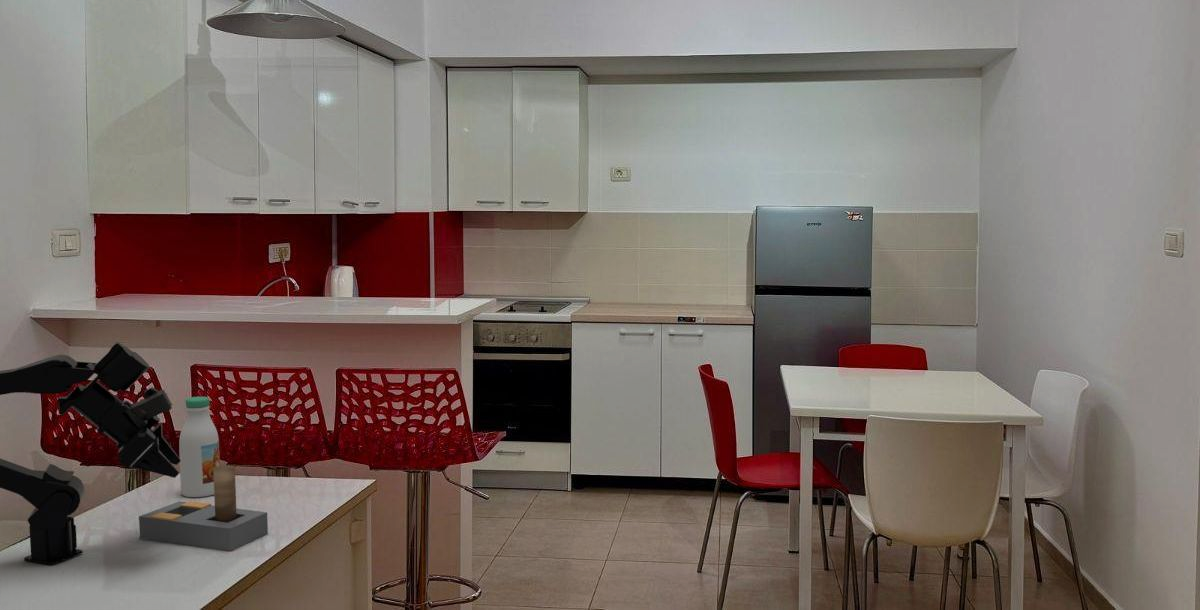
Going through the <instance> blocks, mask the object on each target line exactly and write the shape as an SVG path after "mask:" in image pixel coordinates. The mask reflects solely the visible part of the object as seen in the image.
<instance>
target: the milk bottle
mask: <svg viewBox="0 0 1200 610" xmlns="http://www.w3.org/2000/svg"><path fill="white" fill-rule="evenodd" d="M210 403H211V402H210V398H209V397H208V396H192V397H187V398H186V399H185V407H186V408H185V410H186V412H187V414H186V418H185V421H184V424H183V426H182V429H181V431H180V433H179V434H180V435H179V440H178V441H179V445H178V446H179V449H178V451H179V453H178V454H179V458H180V460H181V461H180V462H179V478H180V493H181V495H182V496H184V497H187V498H203V497H204V498H205V497H209V496H213V495H214V471H213V469H214V468H215V467H219V466H221V461H220V457H221V456H220V442H219V441H220V439H219V434H218V430H217V427H216V426H215V424H214V422H213V420H212V418H211V415H210V411H209V410H210V408H211V407H210Z"/></svg>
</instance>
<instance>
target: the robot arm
mask: <svg viewBox="0 0 1200 610" xmlns="http://www.w3.org/2000/svg"><path fill="white" fill-rule="evenodd" d="M150 367H151V366H150V365H149V363H148V362H147V361H146V360H145V359H144V358H143V357H142V356H140V354H138V353H137V352H136V351H133V350H131V349H130V348H128V347H126V346H124V345H123V344H122V343H120V342H119V341H116V342H115V344H114V345H112V346H111V348H110V349H109V351H108V352H107V353H106V354H105V355H104V356H103V357H102V358H101V359H99V361H98V362H90V361H89V362H87V361H78V360H75V359H74V358H73V357H71V356H69V355H66V354H57V355H54V356H49V357H47V358H43V359H40V360H37V361H34V362H31V363H29V364H26V365H23V366H19V367H15V368H10V369H3V370H0V396H2V395H8V394H17V393H25V394H37V395H40V394H43V395H44V394H46V395H47V394H48V395H50V394H51V395H52V394H55V395H56V394H57V395H58V394H62V393H65V392H67V391H69V390H70V389H72V388H73V386H74V385H76V386H75V388H74V389H73V390H72V391H71V392H70V393H69V394H67V396H59V397H58V398H57V402H58V415H60V416H63V415H64V414H65V413H67V411H68V410H70V409H71V408H72V409H74V410H75V412H77V413H78V414H79V415H81V416H82V417H84V418H85V419H86V420H87V421H89V422H90V423H91V424H92V425H94V426H95V427H96V428H97V429H96V432H98V433H99V434H101V435H102V434H103V433H104V434H105V435H106V436H108V437H109V438H110V439H111V440H113V442H114V443H116V447H117V448H118V449H119V450H118V452H117V460H118V462H120V464H122V465H123V466H124V467H125V468H129V467H130V468H131V469H137V470H142V471H146V472H151V473H153V474H154V473H155V474H159V475H162V476H167V477H170V478H176V477H177V476H178V475H180V471H178V470H177V468H176V467H175V466H177V465H179V464H180V461H181V460H180V456H178V455H177V453H176V451H175V450H174V449H173V448H172V446H171V445H170V444H169V443H168V441H167V440H166V439H165V437H164V435H163V423H162V422H160V421H161V418H159V417H158V415H160V414H164V413H165V414H166V413H167V412H169V411H170V410H172V408H173V403H172V402H171V400H170V398H169V396H168V394H167V393H166V391H165V390H164V389H159V390H158V389H156V388H155V387H150V388H148V389H145V390H144V393H143V394H144V395H143V396H144V397H143V398H142V399H140V400H139V401H136V402H134V403H131V402H130V401H129V400H124V399H123V401H122V400H121V399H119V397H117V396H116V395H115V394H113V393H112V392H114V393H117V392H119V391H123V392H126V391H128V390H129V388H131V387H132V386H133V384H135V383H136V381H138V380H139V379H140V378H141V377H142V376H143V375H144V374H145V373H146V372H147V371H148V370H149V369H150ZM94 374H95V375H96V376H95V377H94V378H93V379H92V380H91V381H90V382H89V383H88V384H86V386H84V385H83V384H80V383H84V382H87V381H88V380H89V379H90V378H92V376H93V375H94ZM99 381H100V382H101V383H100V382H99ZM77 384H78V385H77ZM102 384H103V385H102ZM107 388H108V389H107ZM111 391H112V392H111ZM155 425H156V426H155ZM174 465H175V466H174ZM74 474H75V471H74V470H66V469H63V468H61V467H58V466H57V465H55V464H53V463H50V464H49V465H48V466H47V468H46V469H45V470H37V469H30V468H27V467H25V466H22V465H20V464H17V463H14V462H11V461H8V460H6V459H3V458H1V457H0V489H3V490H6V491H9V492H11V493H14V494H16V495H19V496H20V497H22V498H23V499H24V500H26V501H27V502H28V503H29V504H30V505H32V506H33V507H34V508H33V510H32V512H31V513H30V515H29V517H28V518H27V523H28V524H29V527H28V530H29V544H30V545H29V546H30V554H29V555H26V556H24V557H23V560H24V561H26V562H31V563H37V564H44V565H51V566H52V565H57V564H58V563H61V562H63V561H66V560H69V559H71V558H73V557H77V556H79V555H81V554H83V553H84V552H83V549H78V548H77V547H78V543H77V542H78V540H77V526H76V524H75V517H74V516H73V517H72V516H71V515H72V514H74V513H75V512H76V511H77V509H78V508H79V507H80V505H81V503H82V501H83V498H84V495H85V486H84V484H83V481H82V480H81V479H80V478H79V477H78V476H76V475H74Z"/></svg>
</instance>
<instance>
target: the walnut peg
mask: <svg viewBox="0 0 1200 610" xmlns="http://www.w3.org/2000/svg"><path fill="white" fill-rule="evenodd" d="M213 471H214V506H215V521H219V522H226V523H228V522H230V521H233V520H235V519H237V513H236V508H237V489H236V488H237V487H236V467H235V466H234V465H220V466H219V467H215V468H214V469H213Z"/></svg>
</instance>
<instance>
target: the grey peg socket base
mask: <svg viewBox="0 0 1200 610" xmlns="http://www.w3.org/2000/svg"><path fill="white" fill-rule="evenodd" d="M236 513H237V519H235V520H233V521H230V522H228V523H226V522H219V521H215V505H214V504H213V505H212V503H209V502H201V501H200V502H199V501H193V500H190V501H180V500H179V501H175V502H173V503H171V504H168V505H165V506H163V507H161V508H160V507H159V508H158V509H155V510H153V511H150V512H147V513H145V514H142V515H139V516H138V527H139V530H138V531H139V539H142V540H143V539H144V540H150V541H151V540H152V541H158V542H165V543H173V544H178V545H183V546H184V545H186V546H193V547H199V548H207V549H213V550H219V551H228V552H232V551H234V550H237V549H238V548H240V547H242V546H245V545H246V544H249V543H252V542H253V541H255V540H258V539H260V538H262V537H264V536H266V535H268V534H269V530H268V529H269V527H268V524H269V523H268V512H267V511H260V510H252V509H243V508H237V507H236Z"/></svg>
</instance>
